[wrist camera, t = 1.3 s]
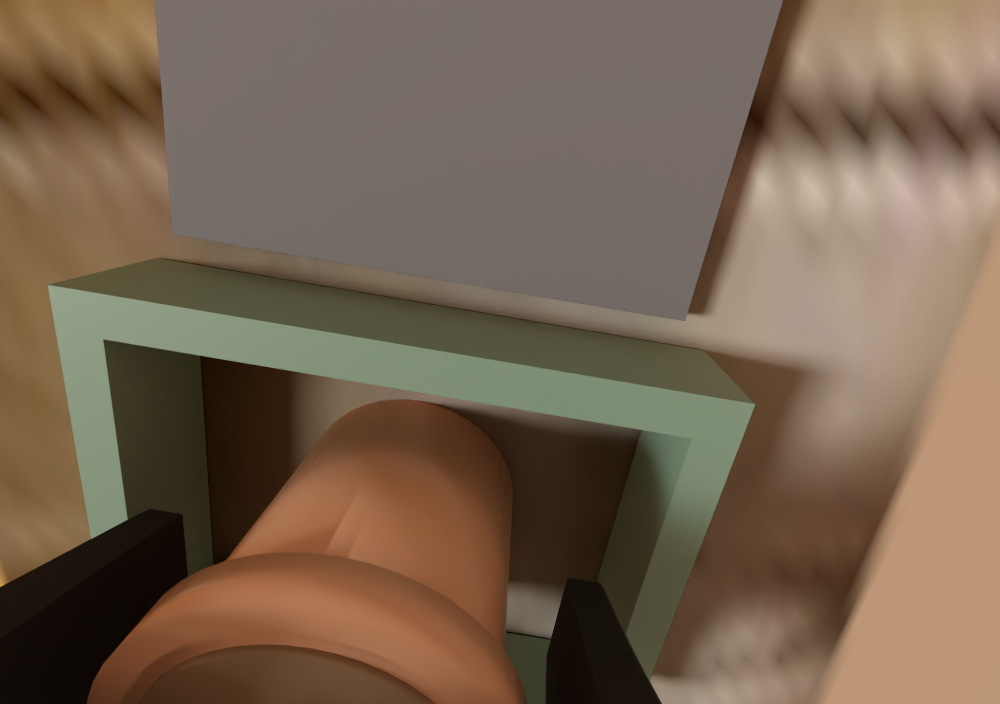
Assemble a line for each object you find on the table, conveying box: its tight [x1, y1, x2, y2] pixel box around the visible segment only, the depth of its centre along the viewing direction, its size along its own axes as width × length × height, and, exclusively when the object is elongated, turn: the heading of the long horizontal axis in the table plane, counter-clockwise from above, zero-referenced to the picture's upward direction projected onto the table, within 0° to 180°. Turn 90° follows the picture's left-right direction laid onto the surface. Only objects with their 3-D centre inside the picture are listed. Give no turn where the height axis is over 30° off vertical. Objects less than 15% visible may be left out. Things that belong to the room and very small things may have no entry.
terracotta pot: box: [87, 400, 527, 704], centre depth 9 cm, size 6×6×6 cm
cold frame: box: [48, 258, 755, 704], centre depth 11 cm, size 10×12×2 cm
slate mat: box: [155, 0, 783, 321], centre depth 8 cm, size 9×10×1 cm
